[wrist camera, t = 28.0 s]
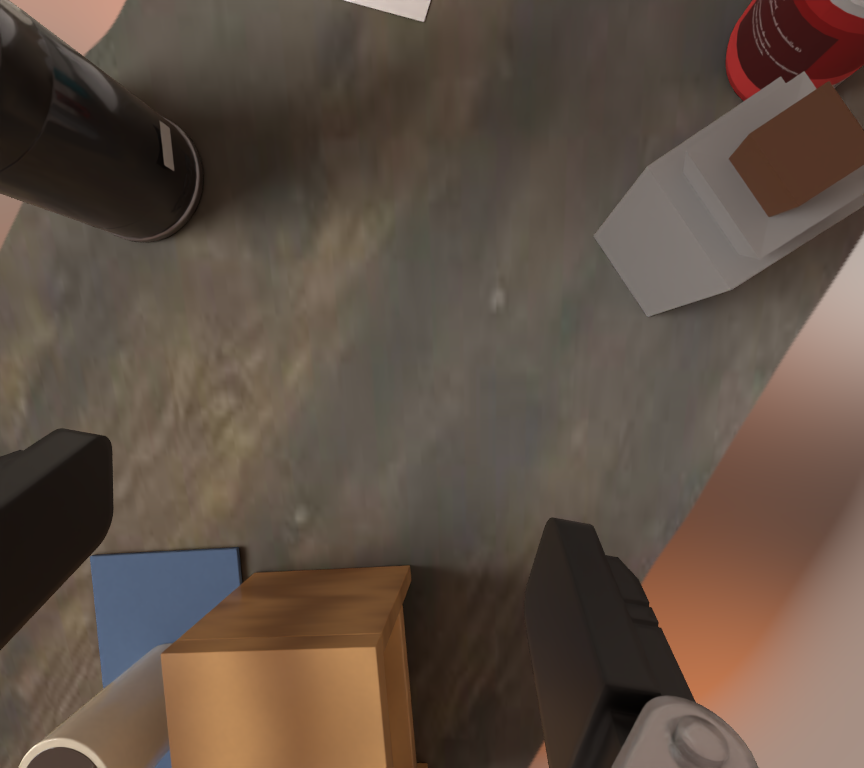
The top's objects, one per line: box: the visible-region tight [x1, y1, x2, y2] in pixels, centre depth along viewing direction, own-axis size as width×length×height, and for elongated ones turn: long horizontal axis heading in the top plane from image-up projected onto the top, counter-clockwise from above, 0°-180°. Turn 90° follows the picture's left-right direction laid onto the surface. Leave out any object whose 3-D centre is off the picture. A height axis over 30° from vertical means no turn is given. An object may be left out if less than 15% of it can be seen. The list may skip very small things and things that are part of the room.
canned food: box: [726, 0, 864, 101], centre depth 31 cm, size 8×8×11 cm
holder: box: [19, 643, 172, 768], centre depth 35 cm, size 6×6×15 cm
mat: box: [90, 547, 242, 768], centre depth 43 cm, size 12×20×1 cm, turn 5°
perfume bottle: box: [594, 71, 864, 317], centre depth 29 cm, size 7×7×18 cm
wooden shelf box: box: [161, 565, 428, 768], centre depth 36 cm, size 12×16×12 cm
